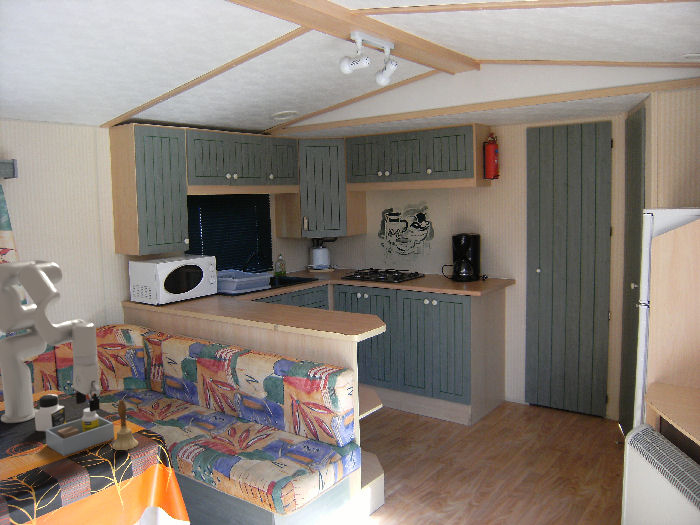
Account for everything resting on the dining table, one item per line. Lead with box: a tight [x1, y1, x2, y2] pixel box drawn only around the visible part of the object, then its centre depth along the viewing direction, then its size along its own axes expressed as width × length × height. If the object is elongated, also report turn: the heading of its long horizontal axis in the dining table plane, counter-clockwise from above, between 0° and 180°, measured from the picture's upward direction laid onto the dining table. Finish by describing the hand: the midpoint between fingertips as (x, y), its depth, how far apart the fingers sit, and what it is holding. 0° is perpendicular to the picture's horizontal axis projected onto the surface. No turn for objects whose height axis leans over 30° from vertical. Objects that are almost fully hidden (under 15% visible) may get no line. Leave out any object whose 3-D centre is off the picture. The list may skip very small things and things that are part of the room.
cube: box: [57, 426, 79, 439], centre depth 200 cm, size 5×5×5 cm
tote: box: [44, 416, 115, 457], centre depth 203 cm, size 13×17×6 cm
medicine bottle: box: [34, 393, 67, 432], centre depth 215 cm, size 7×7×12 cm
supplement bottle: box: [81, 407, 100, 432], centre depth 206 cm, size 5×5×10 cm
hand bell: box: [111, 399, 139, 451], centre depth 199 cm, size 8×8×16 cm
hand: (87, 406), depth 206 cm, fingers open, 9 cm apart
